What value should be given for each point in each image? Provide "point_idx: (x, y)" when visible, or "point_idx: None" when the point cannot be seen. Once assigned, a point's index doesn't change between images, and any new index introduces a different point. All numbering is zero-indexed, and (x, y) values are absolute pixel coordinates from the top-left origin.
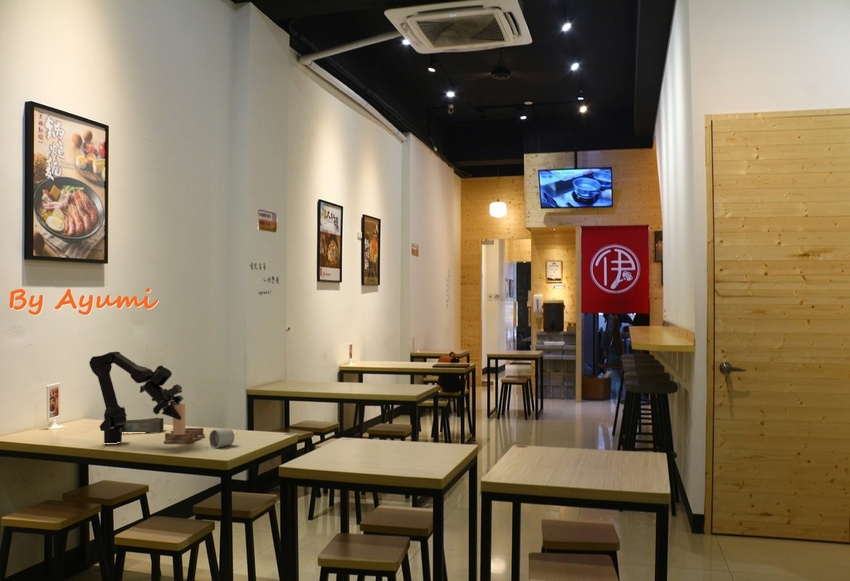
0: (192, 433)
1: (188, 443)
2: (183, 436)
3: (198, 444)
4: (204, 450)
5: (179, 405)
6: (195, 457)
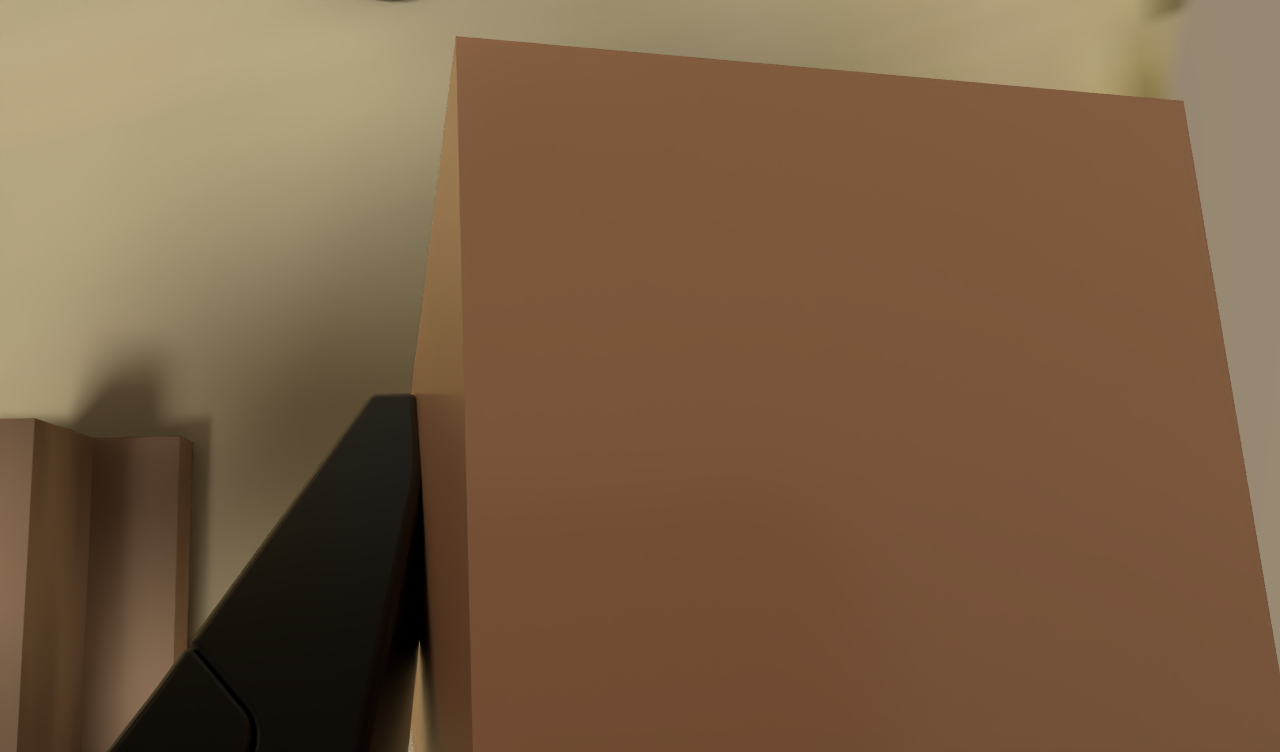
0: (4, 419)
1: (190, 490)
2: (54, 654)
3: (269, 261)
4: (762, 8)
5: (1189, 381)
6: (1147, 8)
